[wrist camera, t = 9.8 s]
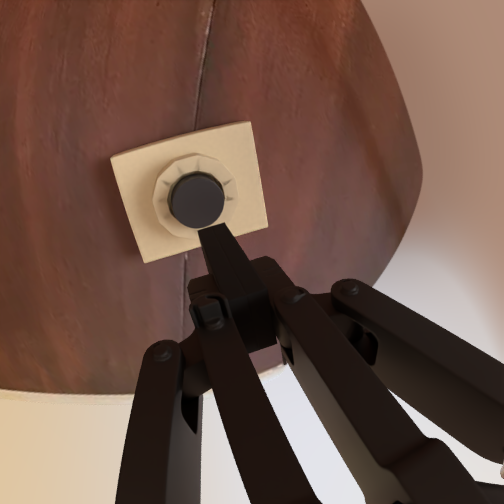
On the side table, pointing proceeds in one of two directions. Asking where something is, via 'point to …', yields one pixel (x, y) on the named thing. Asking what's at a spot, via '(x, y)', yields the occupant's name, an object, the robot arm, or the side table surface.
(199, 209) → the bell button
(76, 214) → the side table surface
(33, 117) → the side table surface
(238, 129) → the doorbell
